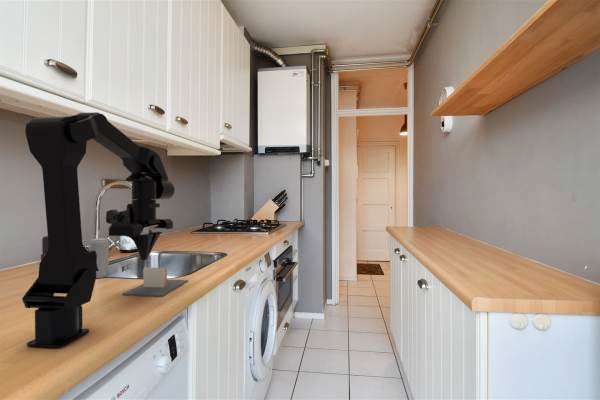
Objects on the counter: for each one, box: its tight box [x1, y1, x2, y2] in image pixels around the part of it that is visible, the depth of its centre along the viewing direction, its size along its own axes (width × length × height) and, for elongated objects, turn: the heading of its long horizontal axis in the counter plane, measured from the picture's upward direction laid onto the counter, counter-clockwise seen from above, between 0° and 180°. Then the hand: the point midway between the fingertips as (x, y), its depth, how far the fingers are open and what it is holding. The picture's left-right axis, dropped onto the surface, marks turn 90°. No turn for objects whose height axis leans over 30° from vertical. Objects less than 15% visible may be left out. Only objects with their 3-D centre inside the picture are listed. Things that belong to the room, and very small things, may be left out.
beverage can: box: [89, 237, 110, 279], centre depth 98 cm, size 5×5×12 cm
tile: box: [142, 267, 168, 288], centre depth 86 cm, size 2×6×5 cm, turn 84°
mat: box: [121, 279, 189, 298], centre depth 86 cm, size 14×11×1 cm
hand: (144, 259), depth 80 cm, fingers closed
